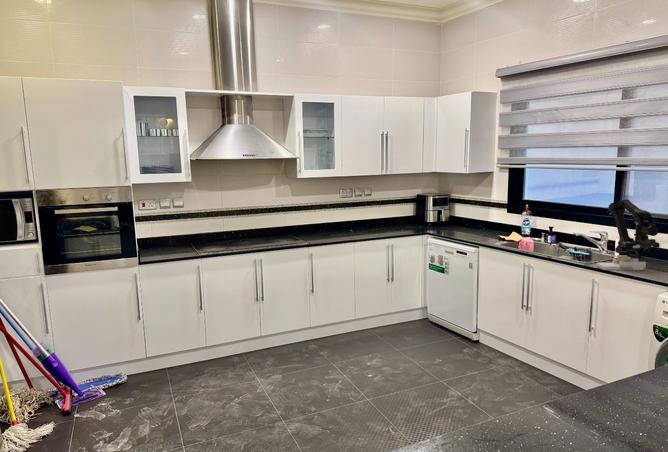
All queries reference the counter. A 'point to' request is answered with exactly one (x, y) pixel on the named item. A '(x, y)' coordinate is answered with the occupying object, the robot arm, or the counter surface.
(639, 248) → the robot arm
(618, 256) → the wooden block
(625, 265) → the trap channel
